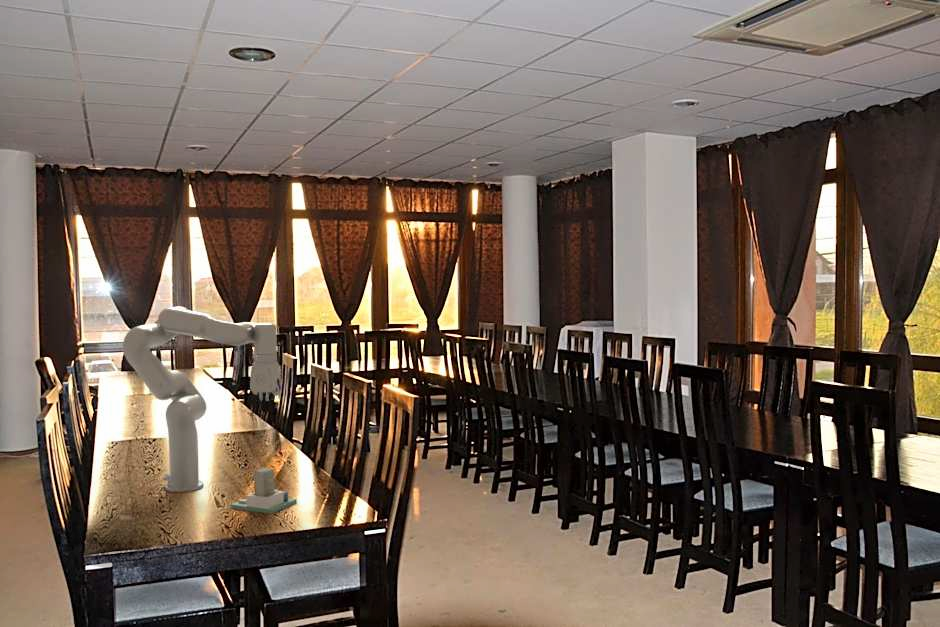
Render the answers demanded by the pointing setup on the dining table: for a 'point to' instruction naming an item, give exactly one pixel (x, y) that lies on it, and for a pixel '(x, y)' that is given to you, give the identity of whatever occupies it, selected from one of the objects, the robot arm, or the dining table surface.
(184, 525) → the dining table surface
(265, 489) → the box
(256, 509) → the board
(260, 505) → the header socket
